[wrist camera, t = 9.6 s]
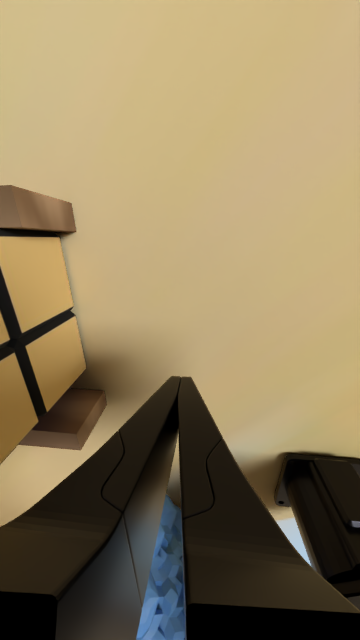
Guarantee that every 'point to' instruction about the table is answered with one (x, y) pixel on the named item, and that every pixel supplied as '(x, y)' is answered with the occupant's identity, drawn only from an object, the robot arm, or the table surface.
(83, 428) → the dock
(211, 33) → the table surface
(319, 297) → the table surface
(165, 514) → the grapes
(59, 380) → the puzzle cube
